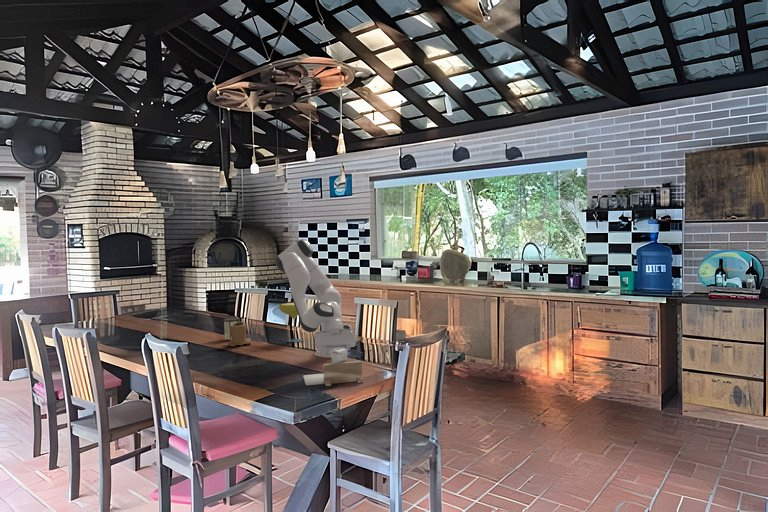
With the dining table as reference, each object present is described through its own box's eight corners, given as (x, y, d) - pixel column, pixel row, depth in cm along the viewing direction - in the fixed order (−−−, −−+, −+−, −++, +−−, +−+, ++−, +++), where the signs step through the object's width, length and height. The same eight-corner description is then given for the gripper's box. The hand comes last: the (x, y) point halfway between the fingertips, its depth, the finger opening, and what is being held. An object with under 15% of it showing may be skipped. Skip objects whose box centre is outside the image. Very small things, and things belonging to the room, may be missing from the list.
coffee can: (233, 337, 358) (232, 317, 358) (243, 338, 353) (242, 318, 352) (221, 340, 350) (220, 319, 349) (231, 341, 344) (231, 320, 343)
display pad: (303, 377, 255) (303, 375, 255) (323, 375, 258) (323, 373, 257) (305, 385, 242) (305, 383, 242) (327, 383, 244) (327, 381, 244)
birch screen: (323, 383, 244) (323, 364, 244) (361, 379, 249) (361, 361, 248) (325, 386, 240) (324, 366, 239) (363, 382, 244) (363, 363, 244)
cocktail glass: (284, 338, 349) (282, 301, 348) (310, 338, 349) (309, 301, 348) (277, 344, 331) (276, 305, 330) (305, 344, 331) (304, 305, 329)
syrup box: (339, 376, 254) (338, 347, 254) (348, 378, 251) (347, 349, 250) (330, 379, 250) (330, 349, 249) (339, 381, 246) (338, 351, 245)
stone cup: (231, 348, 323) (230, 324, 322) (226, 345, 333) (225, 322, 333) (255, 345, 331) (254, 322, 330) (249, 342, 341) (248, 319, 340)
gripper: (313, 328, 258) (314, 352, 249) (354, 326, 262) (357, 349, 252) (313, 335, 263) (314, 359, 254) (353, 333, 266) (356, 356, 257)
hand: (336, 354), depth 253 cm, fingers open, 8 cm apart
